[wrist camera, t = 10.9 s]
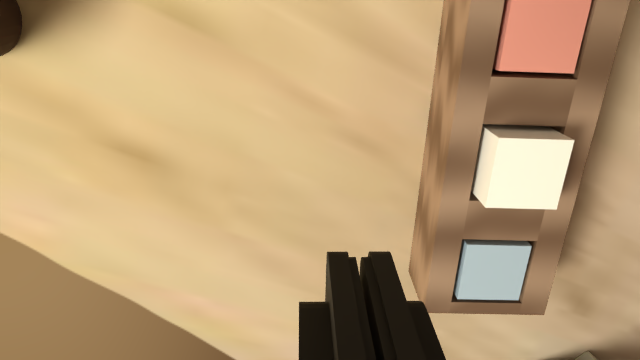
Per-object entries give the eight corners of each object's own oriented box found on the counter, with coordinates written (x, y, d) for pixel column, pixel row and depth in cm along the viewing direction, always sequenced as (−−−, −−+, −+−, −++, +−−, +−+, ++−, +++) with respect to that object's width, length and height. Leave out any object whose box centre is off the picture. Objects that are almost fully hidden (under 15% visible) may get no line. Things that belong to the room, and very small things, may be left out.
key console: (448, -34, 32) (477, -42, 27) (583, -28, 32) (639, -35, 27) (408, 271, 42) (423, 312, 36) (513, 273, 42) (544, 314, 37)
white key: (477, 122, 32) (498, 138, 29) (544, 124, 33) (574, 140, 29) (466, 185, 34) (485, 207, 31) (530, 187, 34) (556, 209, 31)
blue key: (451, 220, 37) (467, 244, 34) (509, 222, 38) (531, 246, 34) (443, 271, 39) (457, 299, 36) (498, 272, 39) (518, 300, 36)
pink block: (489, -11, 31) (514, -13, 27) (560, -8, 31) (594, -10, 27) (477, 63, 33) (498, 70, 29) (544, 65, 33) (573, 73, 29)
